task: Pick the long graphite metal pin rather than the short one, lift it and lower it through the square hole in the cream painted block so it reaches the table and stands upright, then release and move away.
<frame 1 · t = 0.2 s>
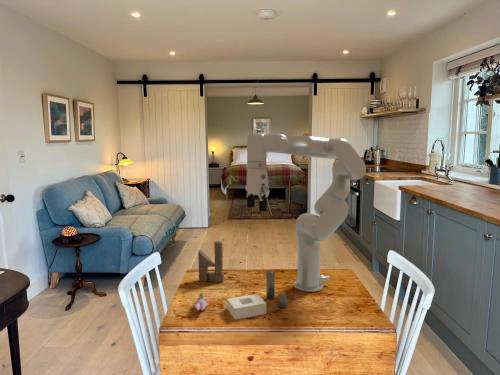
hand: (256, 209, 149), 36 cm above the table, fingers open, 9 cm apart
hole block: (246, 311, 138), on the table
short pin: (282, 306, 142), on the table
pink toy figurine: (201, 309, 141), on the table
long pin: (270, 298, 150), on the table
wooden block: (211, 281, 169), on the table
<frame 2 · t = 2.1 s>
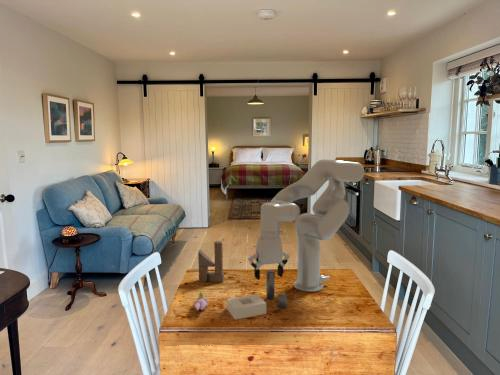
hand: (268, 277, 148), 9 cm above the table, fingers open, 9 cm apart
nothing on the table moved.
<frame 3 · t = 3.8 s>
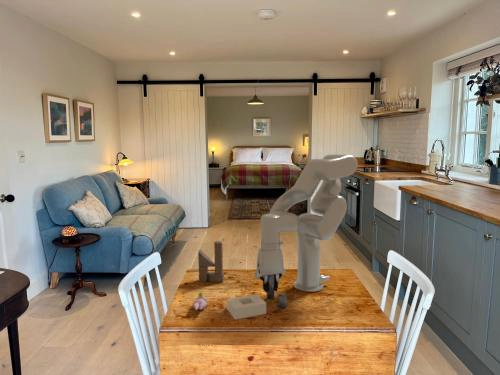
hand: (270, 290, 150), 3 cm above the table, fingers closed on long pin, 3 cm apart
long pin: (270, 298, 150), on the table, touching gripper
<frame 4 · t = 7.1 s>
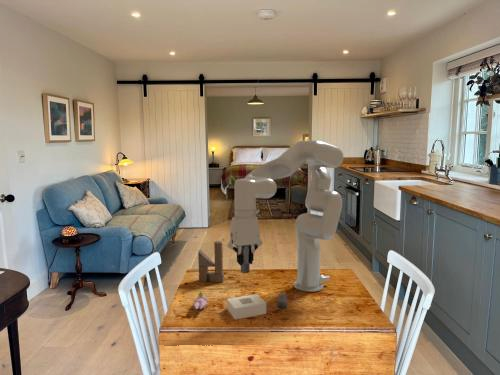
hand: (245, 263, 136), 18 cm above the table, fingers closed on long pin, 3 cm apart
long pin: (245, 271, 136), point 15 cm above the table, touching gripper
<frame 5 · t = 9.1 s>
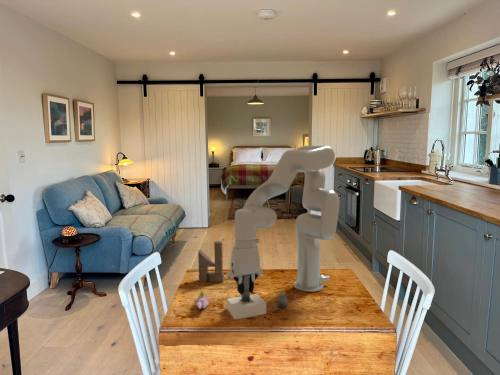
hand: (245, 292, 137), 7 cm above the table, fingers closed on long pin, 3 cm apart
long pin: (245, 300, 138), point 4 cm above the table, touching gripper
when the fingers open (5 cm above the table, at t = 10.5 s): long pin drops 2 cm, resting in hole block.
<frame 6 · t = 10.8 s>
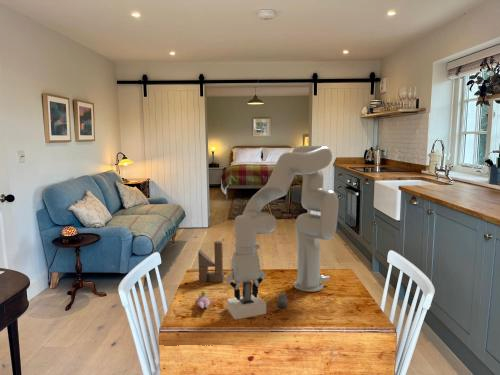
hand: (246, 296, 138), 6 cm above the table, fingers open, 6 cm apart
long pin: (246, 311, 138), resting in hole block
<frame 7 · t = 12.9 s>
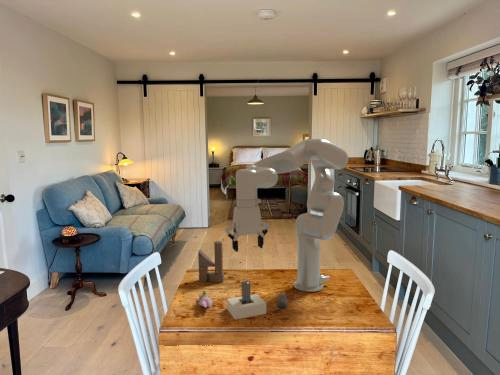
hand: (248, 248, 139), 23 cm above the table, fingers open, 9 cm apart
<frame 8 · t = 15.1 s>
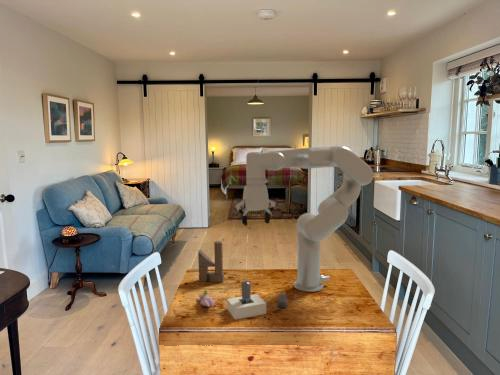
hand: (256, 223, 155), 28 cm above the table, fingers open, 9 cm apart
at the end: long pin 0.0 cm off-centre on the hole block, point 0.0 cm above the hole block's base; long pin tilted 0°; the gripper is holding nothing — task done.
